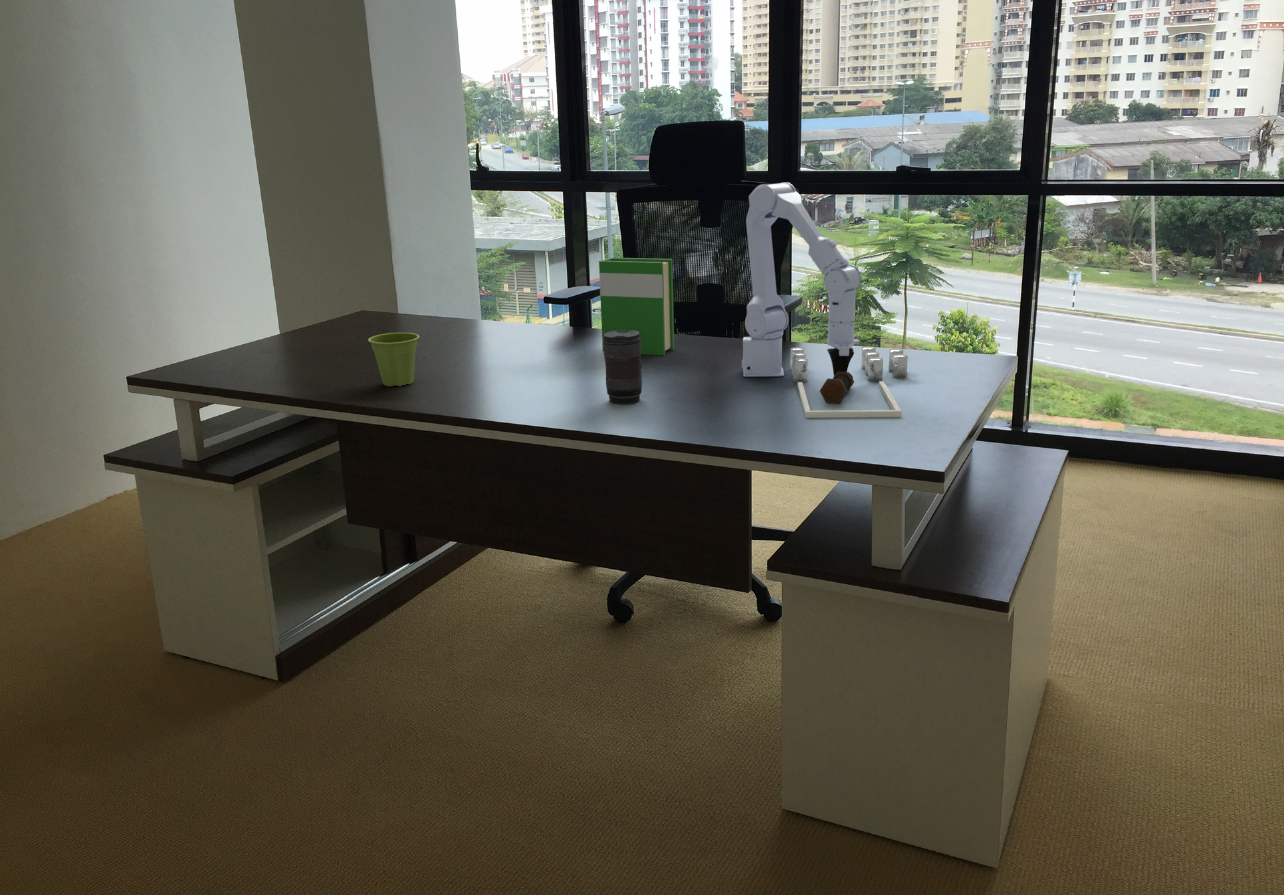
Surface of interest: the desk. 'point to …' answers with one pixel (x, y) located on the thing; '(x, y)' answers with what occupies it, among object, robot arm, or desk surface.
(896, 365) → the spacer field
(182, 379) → the desk surface
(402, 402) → the desk surface
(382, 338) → the plant pot
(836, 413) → the tray rim
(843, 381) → the bolt
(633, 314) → the hardback book
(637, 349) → the camera lens
